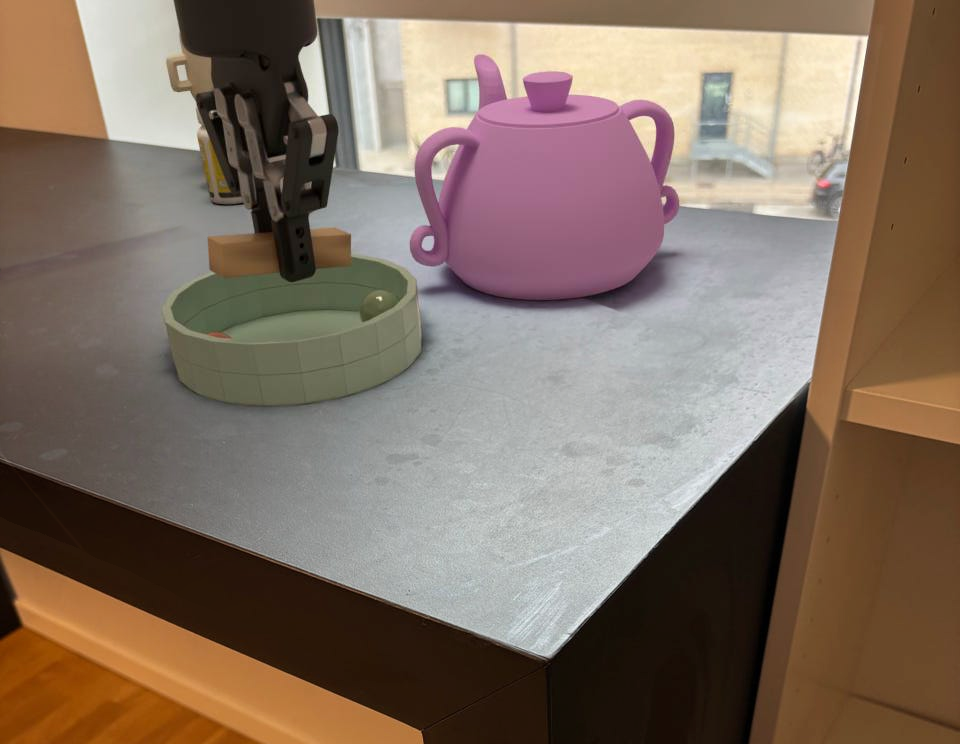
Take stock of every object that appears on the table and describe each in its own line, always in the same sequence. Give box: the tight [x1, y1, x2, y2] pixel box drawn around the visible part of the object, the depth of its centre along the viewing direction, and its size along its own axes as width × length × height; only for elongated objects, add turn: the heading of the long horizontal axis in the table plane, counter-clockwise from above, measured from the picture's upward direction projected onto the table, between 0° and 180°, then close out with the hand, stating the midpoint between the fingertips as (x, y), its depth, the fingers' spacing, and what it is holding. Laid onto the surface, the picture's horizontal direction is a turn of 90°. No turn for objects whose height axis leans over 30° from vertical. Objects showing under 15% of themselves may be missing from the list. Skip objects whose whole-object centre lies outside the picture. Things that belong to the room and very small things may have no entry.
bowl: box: [160, 253, 423, 407], centre depth 67 cm, size 16×16×4 cm
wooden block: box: [207, 227, 352, 278], centre depth 64 cm, size 9×2×2 cm, turn 128°
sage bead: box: [359, 290, 400, 322], centre depth 68 cm, size 3×3×3 cm
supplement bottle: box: [195, 105, 243, 205], centre depth 98 cm, size 5×5×8 cm
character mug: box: [165, 31, 213, 102], centre depth 106 cm, size 11×7×13 cm, turn 119°
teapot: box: [409, 53, 680, 301], centre depth 76 cm, size 22×22×14 cm
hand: (288, 272), depth 65 cm, fingers closed on wooden block, 2 cm apart
